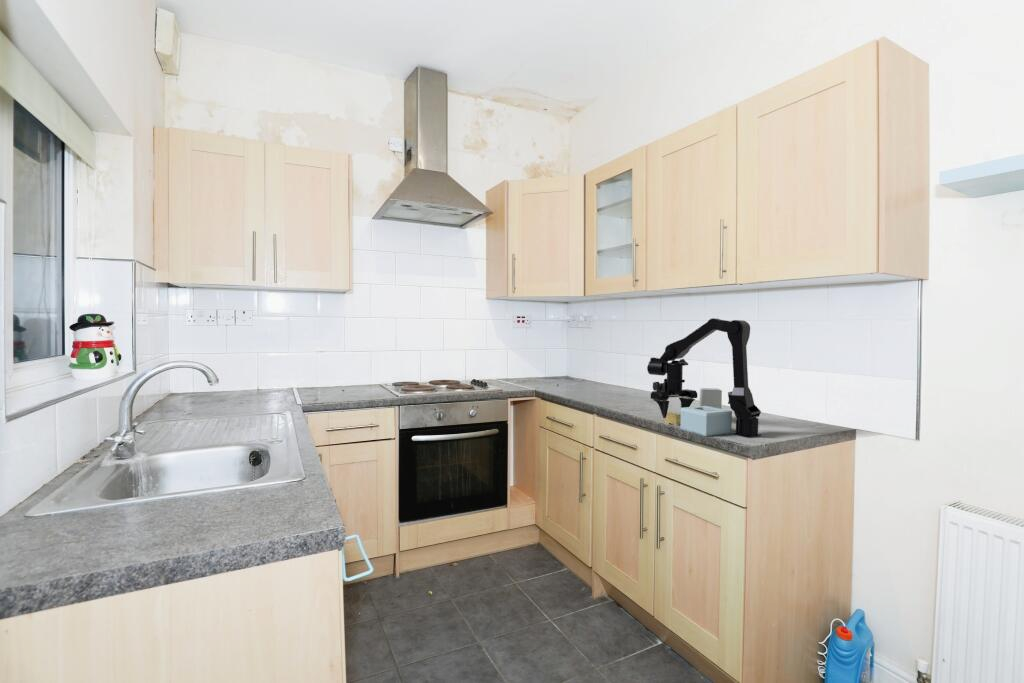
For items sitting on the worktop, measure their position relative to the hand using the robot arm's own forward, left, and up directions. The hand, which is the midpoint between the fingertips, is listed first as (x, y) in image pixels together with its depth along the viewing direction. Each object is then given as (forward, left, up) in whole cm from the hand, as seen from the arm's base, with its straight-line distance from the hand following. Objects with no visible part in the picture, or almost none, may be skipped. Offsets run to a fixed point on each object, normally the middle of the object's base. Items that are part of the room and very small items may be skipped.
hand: (673, 417), depth 195 cm
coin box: (-16, 0, -2) cm, 16 cm away
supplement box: (0, -19, -3) cm, 19 cm away
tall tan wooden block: (0, 0, -3) cm, 3 cm away
